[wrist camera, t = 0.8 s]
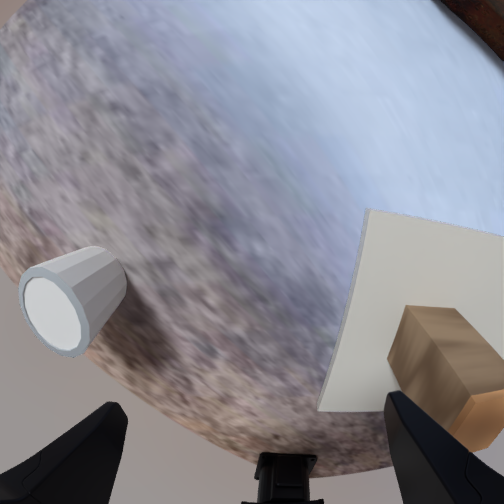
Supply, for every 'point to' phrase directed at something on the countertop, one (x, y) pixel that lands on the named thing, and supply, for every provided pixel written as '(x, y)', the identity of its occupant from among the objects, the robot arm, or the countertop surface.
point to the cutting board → (409, 299)
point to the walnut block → (450, 373)
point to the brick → (483, 20)
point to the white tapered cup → (72, 298)
